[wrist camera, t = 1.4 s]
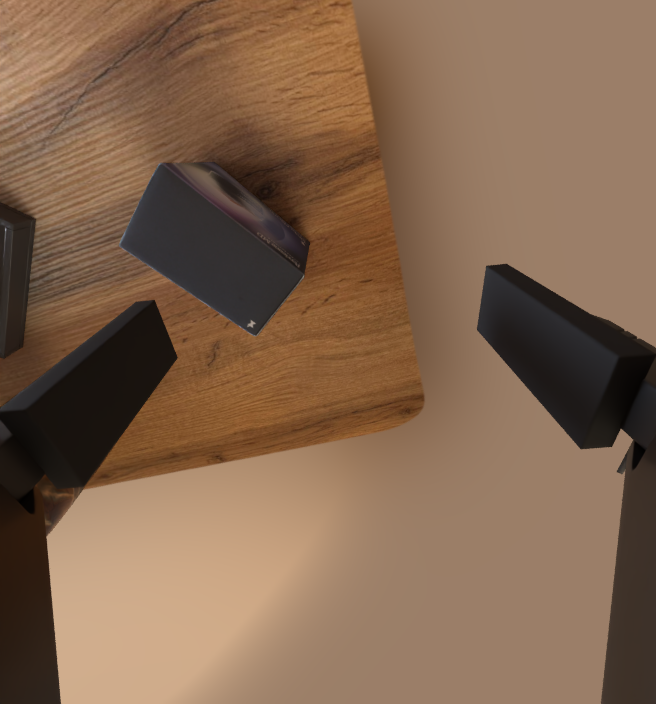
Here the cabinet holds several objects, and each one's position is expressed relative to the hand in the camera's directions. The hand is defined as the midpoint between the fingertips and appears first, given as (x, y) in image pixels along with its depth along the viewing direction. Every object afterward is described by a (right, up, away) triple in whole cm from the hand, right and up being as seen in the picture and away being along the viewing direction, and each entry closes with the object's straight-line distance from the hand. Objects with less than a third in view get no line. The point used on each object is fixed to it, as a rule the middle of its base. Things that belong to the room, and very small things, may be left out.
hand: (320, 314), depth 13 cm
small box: (-7, +10, +17) cm, 21 cm away
